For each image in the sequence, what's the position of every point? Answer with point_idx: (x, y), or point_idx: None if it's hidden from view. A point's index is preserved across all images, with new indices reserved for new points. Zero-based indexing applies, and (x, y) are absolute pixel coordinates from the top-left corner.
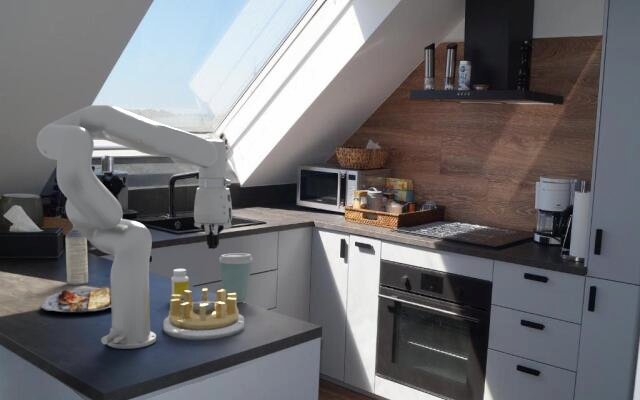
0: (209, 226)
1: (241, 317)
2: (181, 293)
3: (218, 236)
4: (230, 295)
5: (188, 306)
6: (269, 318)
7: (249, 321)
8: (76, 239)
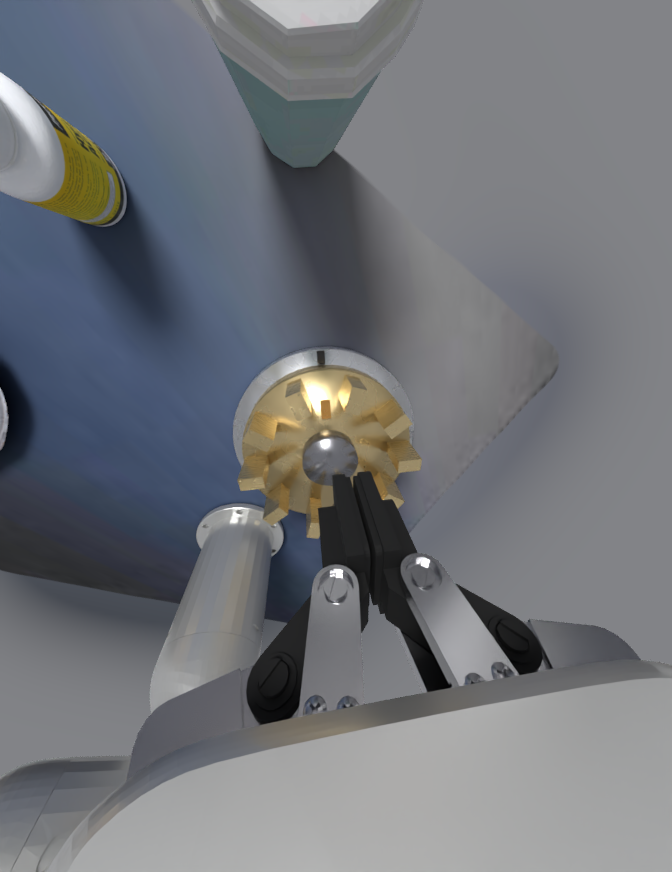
0: (337, 661)
1: (403, 399)
2: (97, 210)
3: (412, 551)
4: (396, 434)
5: None
6: (454, 326)
7: (410, 366)
8: None
